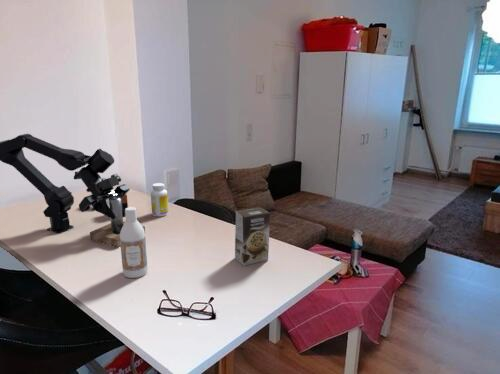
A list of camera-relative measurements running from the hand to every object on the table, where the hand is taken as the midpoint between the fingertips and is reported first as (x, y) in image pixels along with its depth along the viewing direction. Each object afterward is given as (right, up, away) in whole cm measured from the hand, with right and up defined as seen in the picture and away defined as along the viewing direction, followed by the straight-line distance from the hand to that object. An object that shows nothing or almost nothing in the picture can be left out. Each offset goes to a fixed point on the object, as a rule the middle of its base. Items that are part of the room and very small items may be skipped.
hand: (119, 216), depth 131 cm
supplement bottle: (+8, -1, +25) cm, 27 cm away
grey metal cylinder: (-1, -6, +2) cm, 7 cm away
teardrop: (-19, +2, +35) cm, 40 cm away
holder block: (-1, -8, +3) cm, 8 cm away
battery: (-8, -1, +24) cm, 26 cm away
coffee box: (+46, -13, -11) cm, 49 cm away
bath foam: (+12, -15, -21) cm, 28 cm away
